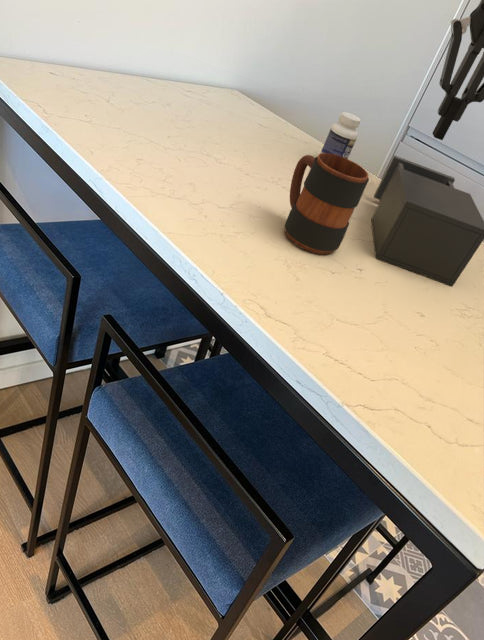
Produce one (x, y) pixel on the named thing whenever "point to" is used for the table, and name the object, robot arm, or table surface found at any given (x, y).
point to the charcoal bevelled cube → (426, 227)
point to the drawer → (412, 168)
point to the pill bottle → (342, 136)
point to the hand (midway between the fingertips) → (437, 136)
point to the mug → (323, 201)
